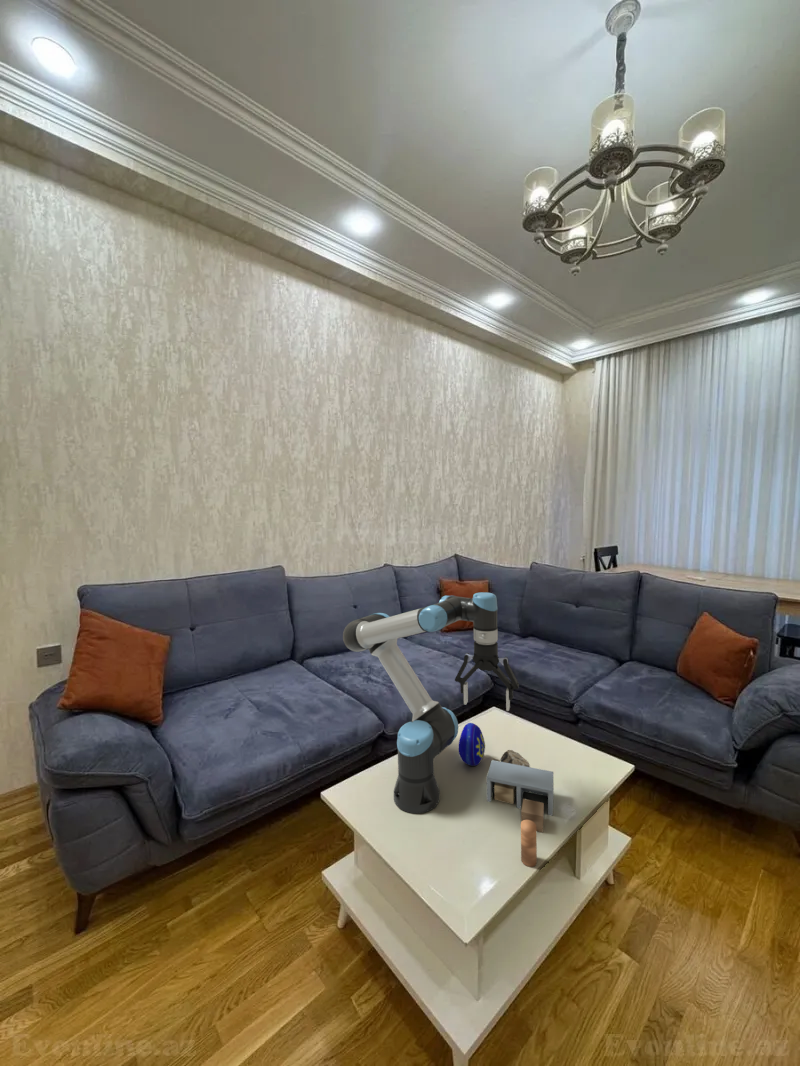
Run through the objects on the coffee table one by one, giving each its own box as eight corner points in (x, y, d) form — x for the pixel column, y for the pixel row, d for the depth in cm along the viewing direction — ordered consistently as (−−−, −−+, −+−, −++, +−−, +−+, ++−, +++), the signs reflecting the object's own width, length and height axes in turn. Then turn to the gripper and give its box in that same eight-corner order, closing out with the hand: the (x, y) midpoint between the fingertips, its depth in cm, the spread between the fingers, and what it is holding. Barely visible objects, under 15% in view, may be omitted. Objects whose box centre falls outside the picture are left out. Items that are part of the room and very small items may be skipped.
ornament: (477, 774, 152) (477, 733, 152) (454, 766, 157) (453, 727, 156) (488, 758, 162) (488, 720, 161) (466, 751, 167) (465, 714, 166)
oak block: (494, 799, 139) (494, 785, 139) (498, 788, 145) (497, 774, 145) (513, 804, 137) (513, 789, 137) (516, 792, 142) (516, 778, 142)
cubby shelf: (486, 801, 139) (486, 777, 138) (492, 782, 148) (491, 759, 147) (552, 815, 131) (552, 790, 131) (553, 795, 141) (553, 771, 140)
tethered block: (516, 863, 114) (516, 827, 114) (523, 814, 132) (523, 783, 132) (540, 869, 112) (539, 833, 111) (543, 818, 130) (543, 787, 130)
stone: (522, 787, 145) (523, 766, 145) (496, 769, 155) (496, 750, 155) (536, 780, 149) (537, 760, 149) (510, 763, 159) (510, 744, 159)
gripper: (444, 641, 139) (446, 705, 140) (524, 648, 129) (525, 717, 131) (450, 634, 146) (452, 695, 147) (527, 641, 136) (527, 706, 138)
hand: (486, 705), depth 139 cm, fingers open, 13 cm apart
